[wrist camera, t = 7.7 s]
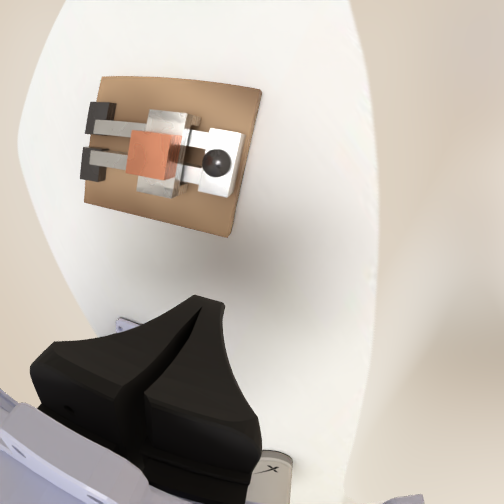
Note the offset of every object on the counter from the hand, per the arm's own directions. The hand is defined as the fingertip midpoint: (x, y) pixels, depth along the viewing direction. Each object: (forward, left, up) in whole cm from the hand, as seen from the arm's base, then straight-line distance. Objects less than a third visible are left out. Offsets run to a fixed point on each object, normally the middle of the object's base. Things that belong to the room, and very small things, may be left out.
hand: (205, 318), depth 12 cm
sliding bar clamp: (+6, +7, -9) cm, 12 cm away
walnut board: (+6, +7, -10) cm, 13 cm away
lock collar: (+6, +6, -9) cm, 12 cm away
